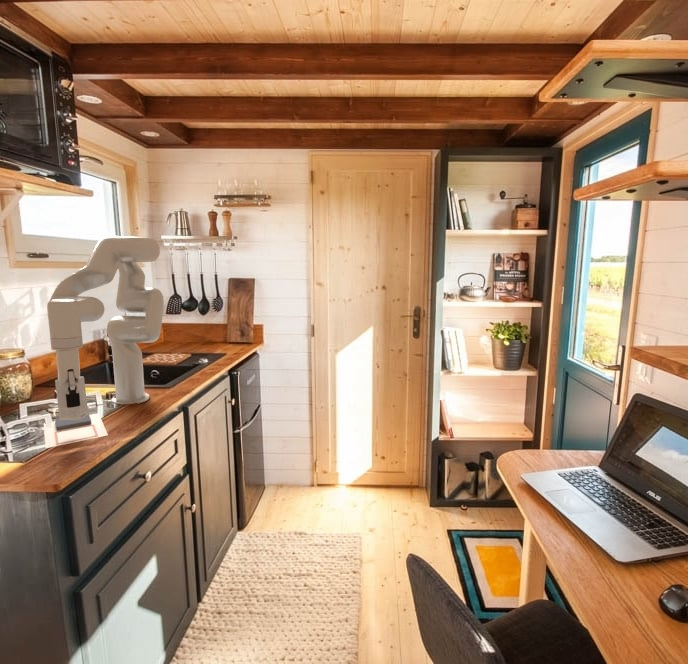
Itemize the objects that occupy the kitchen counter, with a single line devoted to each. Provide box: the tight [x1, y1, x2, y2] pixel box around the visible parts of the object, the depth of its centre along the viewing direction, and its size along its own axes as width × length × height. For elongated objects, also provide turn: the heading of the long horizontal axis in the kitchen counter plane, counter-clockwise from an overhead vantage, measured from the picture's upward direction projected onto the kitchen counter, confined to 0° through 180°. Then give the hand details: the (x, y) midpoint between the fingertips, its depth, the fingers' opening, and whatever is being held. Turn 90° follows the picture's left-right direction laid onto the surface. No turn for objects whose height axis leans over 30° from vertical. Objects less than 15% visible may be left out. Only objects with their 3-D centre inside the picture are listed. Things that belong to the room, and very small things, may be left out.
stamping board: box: [43, 413, 109, 449], centre depth 126 cm, size 21×15×1 cm
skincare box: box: [54, 375, 89, 420], centre depth 120 cm, size 6×4×12 cm
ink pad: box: [54, 412, 91, 431], centre depth 130 cm, size 8×9×1 cm
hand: (72, 402), depth 120 cm, fingers closed on skincare box, 6 cm apart
